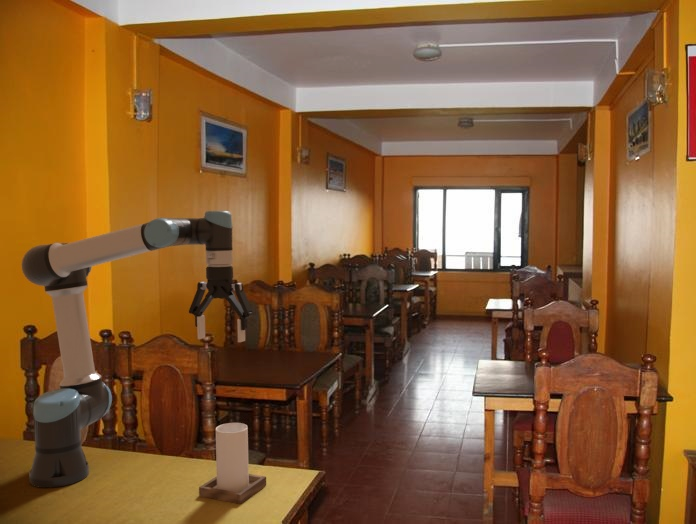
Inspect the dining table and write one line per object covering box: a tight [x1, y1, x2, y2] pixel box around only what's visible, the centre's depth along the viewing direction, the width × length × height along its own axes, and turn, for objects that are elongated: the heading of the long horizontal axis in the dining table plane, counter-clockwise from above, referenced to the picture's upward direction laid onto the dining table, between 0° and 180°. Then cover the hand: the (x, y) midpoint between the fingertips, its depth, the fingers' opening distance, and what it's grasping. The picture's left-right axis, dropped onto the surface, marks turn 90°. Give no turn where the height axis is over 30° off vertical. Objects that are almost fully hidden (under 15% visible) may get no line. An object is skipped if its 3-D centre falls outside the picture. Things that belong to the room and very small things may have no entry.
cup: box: [215, 422, 250, 493], centre depth 171 cm, size 8×8×16 cm
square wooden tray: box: [198, 473, 267, 505], centre depth 171 cm, size 12×12×2 cm
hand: (221, 340), depth 186 cm, fingers open, 13 cm apart
